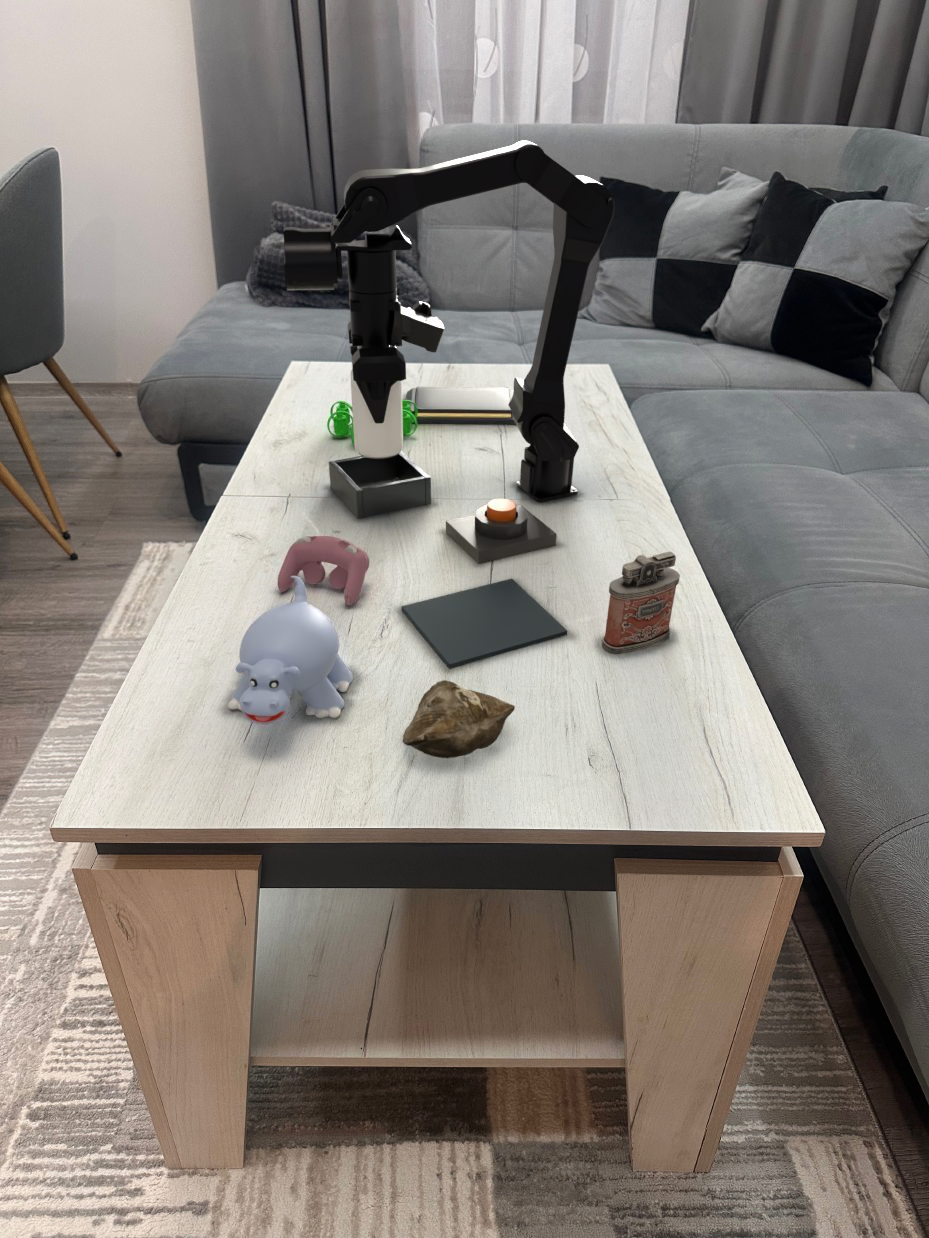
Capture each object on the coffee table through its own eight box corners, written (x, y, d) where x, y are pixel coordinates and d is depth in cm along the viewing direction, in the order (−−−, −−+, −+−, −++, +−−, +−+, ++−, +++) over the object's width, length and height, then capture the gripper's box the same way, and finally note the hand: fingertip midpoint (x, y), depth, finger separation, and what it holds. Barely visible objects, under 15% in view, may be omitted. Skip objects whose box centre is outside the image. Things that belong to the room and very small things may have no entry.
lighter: (614, 659, 90) (625, 574, 85) (595, 641, 93) (605, 559, 87) (676, 639, 93) (691, 557, 88) (656, 623, 96) (669, 542, 90)
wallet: (520, 384, 156) (523, 415, 143) (519, 395, 157) (523, 426, 144) (407, 382, 156) (401, 412, 143) (407, 392, 157) (401, 423, 144)
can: (396, 461, 114) (394, 370, 107) (348, 457, 115) (343, 366, 108) (408, 443, 119) (406, 354, 113) (362, 439, 120) (357, 351, 114)
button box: (520, 516, 117) (521, 492, 115) (556, 545, 110) (558, 520, 108) (445, 532, 113) (445, 507, 111) (478, 564, 106) (479, 538, 104)
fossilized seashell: (413, 765, 73) (525, 759, 76) (414, 684, 73) (526, 683, 76) (391, 750, 80) (495, 746, 83) (392, 677, 80) (496, 676, 83)
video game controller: (368, 604, 101) (377, 544, 100) (351, 607, 96) (361, 544, 95) (291, 588, 103) (299, 529, 102) (271, 590, 99) (280, 529, 98)
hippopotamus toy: (205, 749, 78) (189, 662, 72) (256, 651, 90) (245, 571, 85) (325, 759, 77) (317, 672, 71) (360, 659, 89) (355, 578, 84)
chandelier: (309, 442, 137) (304, 400, 133) (353, 408, 148) (349, 368, 145) (397, 456, 133) (395, 412, 129) (435, 420, 144) (434, 379, 140)
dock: (399, 475, 127) (399, 449, 125) (431, 504, 119) (431, 477, 117) (330, 488, 123) (328, 461, 121) (357, 519, 115) (356, 491, 113)
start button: (506, 508, 112) (507, 496, 111) (520, 520, 109) (521, 507, 108) (481, 514, 110) (482, 501, 109) (495, 526, 108) (496, 513, 107)
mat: (511, 582, 102) (511, 578, 102) (567, 635, 94) (567, 630, 93) (401, 610, 97) (401, 606, 97) (449, 669, 88) (449, 664, 88)
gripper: (449, 307, 99) (448, 438, 108) (431, 270, 114) (431, 388, 123) (349, 309, 98) (356, 442, 106) (344, 272, 113) (351, 390, 122)
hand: (377, 413), depth 114 cm, fingers closed on can, 6 cm apart
